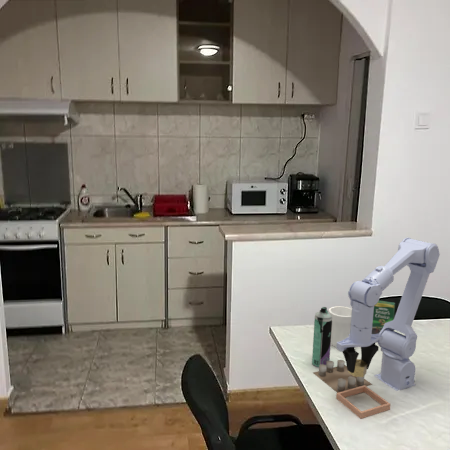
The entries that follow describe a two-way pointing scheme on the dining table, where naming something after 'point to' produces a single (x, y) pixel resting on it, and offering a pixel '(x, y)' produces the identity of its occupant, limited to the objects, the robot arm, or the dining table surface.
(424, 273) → the robot arm
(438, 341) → the dining table surface
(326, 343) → the spray can
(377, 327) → the coffee box
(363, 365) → the brass nut
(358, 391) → the terracotta tray
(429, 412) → the dining table surface
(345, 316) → the foam cup
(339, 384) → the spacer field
